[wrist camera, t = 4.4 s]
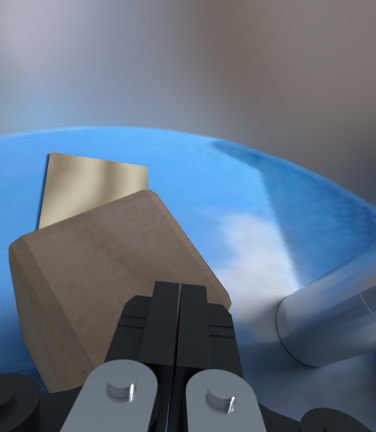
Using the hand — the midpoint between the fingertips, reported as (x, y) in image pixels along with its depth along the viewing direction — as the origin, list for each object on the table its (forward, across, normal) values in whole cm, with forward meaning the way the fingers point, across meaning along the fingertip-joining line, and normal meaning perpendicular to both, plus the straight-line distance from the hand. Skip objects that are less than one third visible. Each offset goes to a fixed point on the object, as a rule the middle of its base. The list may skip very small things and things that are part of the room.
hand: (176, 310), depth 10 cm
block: (+21, +8, +19) cm, 29 cm away
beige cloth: (+33, +11, +8) cm, 35 cm away
